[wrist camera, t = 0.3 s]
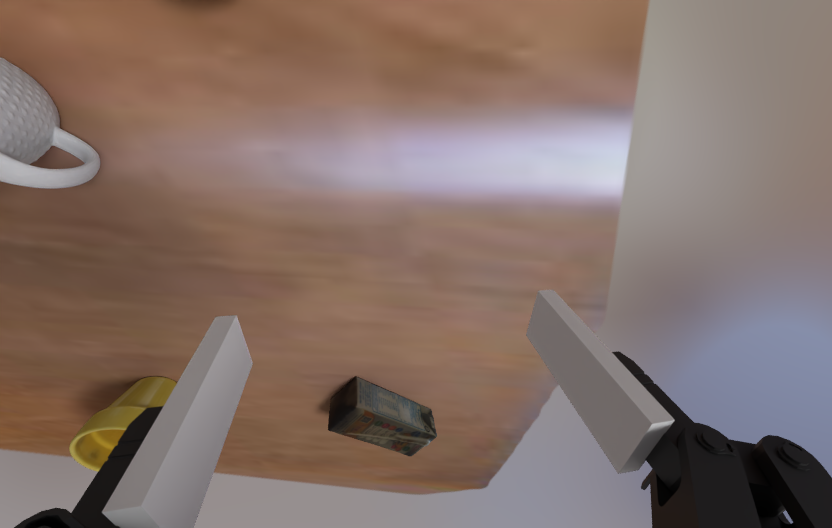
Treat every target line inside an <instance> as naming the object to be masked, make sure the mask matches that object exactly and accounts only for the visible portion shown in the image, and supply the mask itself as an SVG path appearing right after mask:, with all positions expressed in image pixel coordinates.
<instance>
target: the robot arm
mask: <svg viewBox="0 0 832 528" xmlns="http://www.w3.org/2000/svg"><path fill="white" fill-rule="evenodd" d="M526 336H527V337H528V339H529V340H530V342H531V343H532V345H533V346H534V348H535V349H536V351H537V352H538V354H539V355H540V357H541V358H542V360H543V361H544V363H545V364H546V366H547V367H548V369H549V370H550V372H551V373H552V375H553V376H554V378H555V379H556V381H557V382H558V384H559V385H560V387H561V388H562V390H563V391H564V393H565V394H566V396H567V397H568V399H569V400H570V402H571V403H572V405H573V406H574V408H575V409H576V411H577V412H578V414H579V415H580V417H581V418H582V420H583V421H584V423H585V424H586V426H587V427H588V429H589V430H590V432H591V433H592V435H593V436H594V438H595V439H596V441H597V442H598V444H599V445H600V447H601V448H602V450H603V451H604V453H605V454H606V456H607V457H608V459H609V460H610V462H611V464H612V465H613V467H614V468H615V470H616V471H617V473H618V474H619V473H625V472H630V471H636V470H639V469H640V467H641V466H642V464H643V463H644V462H645V461H647V462H648V463H649V464H650V466H651V467H652V468H653V469H652V471H651V472H650V473H649V475H648V476H647V477H646V479H645V480H644V481H643V483H642V486H641V489H643V490H645V489H646V488H647V487H648V485H649V484H650V485H651V507H652V525H653V526H652V528H832V478H831V476H830V475H829V474H828V472H827V471H826V470H825V469H824V467H823V466H822V465H821V464H820V463H819V462H818V461H817V459H816V458H814V456H813V455H811V454H810V453H808V452H807V451H806V450H805V449H803V448H802V447H800V446H799V445H797V444H795V443H793V442H791V441H790V440H787V439H784V438H781V437H779V436H772V435H768V436H765V437H763V438H762V439H761V440H760V441H759V442H758V443H757V444H752V443H746V442H740V441H734V440H729V439H728V438H727V437H725V436H724V435H723V434H721V433H720V432H719V431H717V430H715V429H713V428H711V427H709V426H707V425H703V424H700V423H694V422H693V421H692V420H691V419H690V418H689V417H688V416H687V415H686V414H685V413H684V412H683V411H682V410H681V409H680V408H679V407H678V406H677V405H676V404H675V403H674V402H673V401H672V400H671V399H670V398H669V397H668V396H667V395H666V394H665V393H664V392H663V391H662V390H661V389H660V388H659V387H658V386H657V385H656V384H654V383H653V381H652V380H651V379H650V377H649V376H647V375H645V374H644V371H643V370H642V369H641V368H640V367H639V366H638V365H637V364H636V363H635V362H634V361H632V360H631V359H630V358H628V357H626V356H625V355H623V354H622V353H620V352H611V351H610V350H609V349H608V348H607V347H606V346H605V345H604V344H603V343H602V342H601V340H600V339H599V338H598V337H597V336H596V335H595V334H594V333H593V332H592V331H591V330H590V329H589V328H588V326H587V325H586V324H585V323H584V322H583V321H582V320H581V319H580V318H579V317H578V316H577V315H576V314H575V313H574V311H573V310H572V309H571V308H570V307H569V306H568V305H567V304H566V303H565V302H564V301H563V300H562V299H561V298H560V296H559V295H558V294H557V293H556V292H555V291H554V290H543V291H538V293H537V297H536V301H535V304H534V308H533V312H532V315H531V319H530V323H529V326H528V330H527V334H526ZM252 364H253V363H252V360H251V357H250V354H249V351H248V348H247V345H246V342H245V339H244V336H243V333H242V330H241V327H240V324H239V321H238V318H237V315H233V316H220V317H215V319H214V321H213V323H212V324H211V326H210V328H209V329H208V331H207V333H206V335H205V336H204V338H203V340H202V341H201V343H200V345H199V347H198V348H197V350H196V352H195V353H194V355H193V357H192V359H191V360H190V362H189V364H188V365H187V367H186V369H185V371H184V372H183V374H182V376H181V377H180V379H179V381H178V383H177V384H176V386H175V388H174V389H173V391H172V393H171V395H170V396H169V398H168V400H167V401H166V403H165V405H164V406H159V407H151V408H146V409H145V410H144V411H143V412H142V413H141V414H140V415H139V416H138V417H137V418H135V419H134V420H133V421H132V422H131V423H130V424H129V426H128V427H127V429H126V430H125V432H124V433H123V435H122V436H121V438H120V439H119V441H118V445H117V446H115V447H114V449H113V450H112V452H111V453H110V455H109V456H108V460H107V461H105V462H104V464H103V465H102V467H101V468H100V470H99V472H98V473H97V475H96V476H95V478H94V479H93V481H92V482H91V484H90V485H89V487H88V488H87V490H86V491H85V493H84V495H83V496H82V498H81V499H80V501H79V502H78V504H77V505H76V507H75V508H74V510H73V511H72V513H70V512H69V511H67V510H66V509H60V508H54V509H50V510H45V511H41V512H39V513H37V514H35V515H34V516H32V517H30V518H28V519H26V520H24V521H22V522H21V523H20V524H18V525H17V526H16V527H14V528H194V525H195V522H196V520H197V517H198V514H199V511H200V508H201V506H202V503H203V500H204V497H205V494H206V492H207V489H208V486H209V483H210V481H211V478H212V475H213V472H214V470H215V467H216V464H217V461H218V458H219V456H220V453H221V450H222V447H223V445H224V442H225V439H226V436H227V433H228V431H229V428H230V425H231V422H232V419H233V417H234V414H235V411H236V408H237V406H238V403H239V400H240V397H241V394H242V392H243V389H244V386H245V383H246V381H247V378H248V375H249V372H250V369H251V367H252ZM785 510H786V511H787V512H788V514H789V516H790V517H791V519H792V521H793V523H792V524H790V522H789V521H788V520H787V519H786V517H785V515H784V514H783V512H784V511H785Z"/></svg>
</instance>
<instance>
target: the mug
mask: <svg viewBox="0 0 832 528" xmlns="http://www.w3.org/2000/svg"><path fill="white" fill-rule="evenodd" d="M51 146H56V147H58V148H60V149H62V150H64V151H67V152H69V153H70V154H72V155H74V156H76V157H77V158H79V159H80V160H82V161H83V162H84V163H85V164H83V165H81V166H79V167H75V168H68V169H46V168H40V167H35V166H32V165H30V164H31V163H32V162H34V161H37V160H38V159H39V158H40V157H41V156H42V155H44V154H45V153H46V151H47V150H49V149H50V147H51ZM99 167H100V157H99V155H98V153H97V152H96V151H95V150H94V149H93V148H92V147H91V146H89V145H88V144H87V143H85V142H84V141H82V140H81V139H79V138H77V137H75V136H74V135H72V134H70V133H68V132H66V131H64V130H62V129H60V118H59V113H58V110H57V108H56V106H55V104H54V102H53V100H52V99H51V97H50V96H49V94H48V93H47V92H46V91H45V89H44V88H43V87H42V86H41V85H40V84H39V83H38V82H37V81H36V80H34V79H33V78H32V77H31V76H29V75H28V74H27V73H25V72H24V71H23V70H21V69H20V68H18V67H16V66H15V65H13V64H11V63H10V62H8V61H7V60H5V59H3V58H1V57H0V181H2V182H6V183H10V184H14V185H20V186H26V187H34V188H67V187H74V186H77V185H81V184H83V183H85V182H88V181H89V180H91V179H92V178H93V177H94V176H95V175H96V174H97V172H98V170H99Z"/></svg>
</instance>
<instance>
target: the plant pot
mask: <svg viewBox="0 0 832 528" xmlns="http://www.w3.org/2000/svg"><path fill="white" fill-rule="evenodd" d="M176 384H177V382H175V381H173V380H171V379H169V378H165V377H158V376H153V377H146V378H143V379H141V380H139V381H137V382H136V383H135V384H134V385H132V386H131V387H130V388H129V389H128V390H127V391H126V392H125V393H123V394H122V395H121V396H120V397H119V398H118V399H117V400H115V401H114V402H113V403H112V404H111V405H110V406H109V407H108V408H106V409H104V410H101V411H99V412H97V413H96V414H94V415H93V416H92V417H91V418H90V419H89V420H88V421H87V422H86V424H85V425H84V426H83V427H82V428H81V429H80V431H79V432H78V433H77V435H76V436H75V437H74V438H73V440H72V441H71V443H70V447H69V450H70V454H71V456H72V457H73V458H74V460H76V461H77V462H78V463H79V464H81V465H83V466H85V467H86V468H89V469H91V470H94V471H98V472H99V470H100V468H101V467H102V465H103V464H104V462H105V461H107V460H108V456H109V455H110V453H111V452H112V450H113V449H114V447H115V446H117V445H118V441H119V439H120V438H121V436H122V435H123V433H124V432H125V430H126V429H127V427H128V426H129V424H130V423H131V422H132V421H133V420H134V419H135V418H137V417H138V416H139V415H140V414H141V413H142V412H143V411H144V410H145V409H146V408H151V407H159V406H164V405H165V403H166V401H167V400H168V398H169V396H170V395H171V393H172V391H173V389H174V388H175V386H176Z"/></svg>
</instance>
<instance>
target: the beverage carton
mask: <svg viewBox="0 0 832 528" xmlns="http://www.w3.org/2000/svg"><path fill="white" fill-rule="evenodd" d="M328 430H329V431H333V432H335V433H338V434H341V435H345V436H348V437H352V438H355V439H358V440H361V441H364V442H368V443H371V444H374V445H377V446H381V447H384V448H387V449H390V450H393V451H396V452H400V453H402V454H404V455H408V456H412V455H414V454H415V453H416V452H418V451H419V450H420V449H421V448H423V447H424V446H427V445H428V444H429V443H430V442H431V441H432V440H433V439H435V438H436V437H437V433H436V429H435V425H434V418H433V415H432V411H431V409H429V408H427V407H424V406H422V405H420V404H418V403H416V402H414V401H411V400H409V399H407V398H404V397H402V396H399V395H397V394H395V393H393V392H390V391H388V390H386V389H383V388H381V387H379V386H376V385H374V384H372V383H369V382H367V381H365V380H363V379H360V378H358V377H355V378H354V379H353V380H352V381H351V382H350V383H349V384H348V385H347V386H345V387H344V388H343V389H342V390H341V391H340V392H339V393H337V394H336V395H335V396H334V397H333V398H332V399H331V403H330V411H329V424H328Z"/></svg>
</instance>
